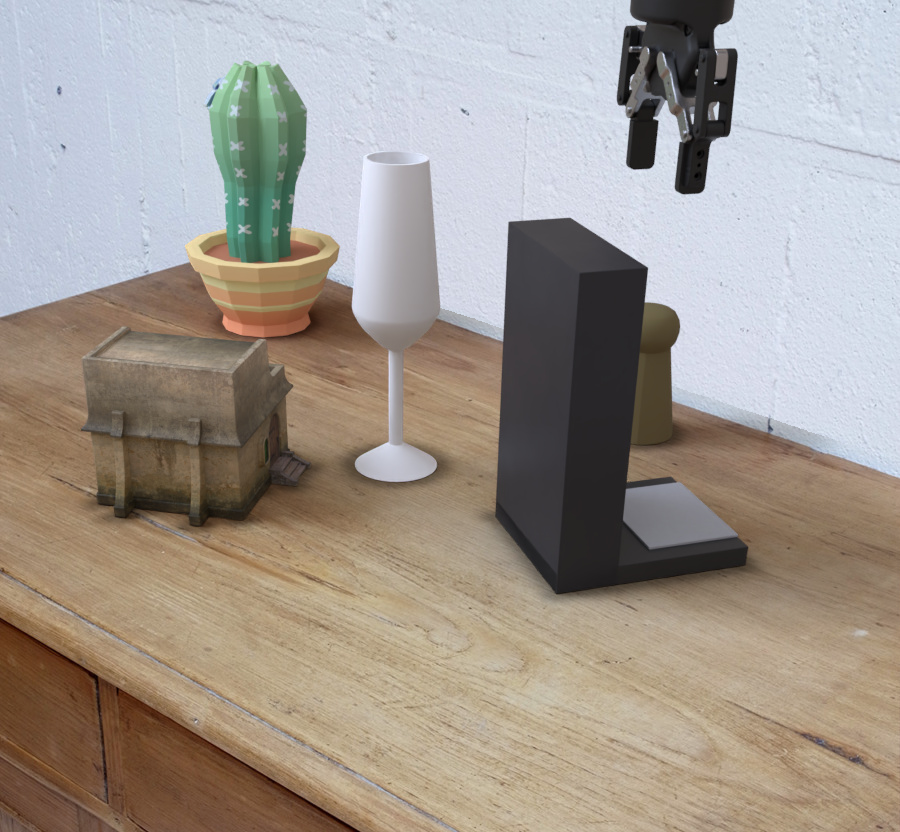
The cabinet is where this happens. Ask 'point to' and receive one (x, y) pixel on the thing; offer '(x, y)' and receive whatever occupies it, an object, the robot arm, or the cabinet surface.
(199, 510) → the miniature house
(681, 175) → the robot arm
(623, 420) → the coffee maker
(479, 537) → the cabinet surface
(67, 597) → the cabinet surface
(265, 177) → the potted cactus
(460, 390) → the cabinet surface
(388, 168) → the champagne flute
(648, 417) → the olive pawn figure
